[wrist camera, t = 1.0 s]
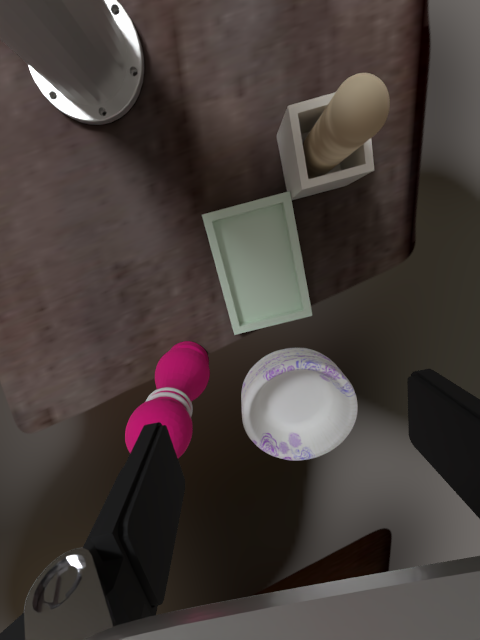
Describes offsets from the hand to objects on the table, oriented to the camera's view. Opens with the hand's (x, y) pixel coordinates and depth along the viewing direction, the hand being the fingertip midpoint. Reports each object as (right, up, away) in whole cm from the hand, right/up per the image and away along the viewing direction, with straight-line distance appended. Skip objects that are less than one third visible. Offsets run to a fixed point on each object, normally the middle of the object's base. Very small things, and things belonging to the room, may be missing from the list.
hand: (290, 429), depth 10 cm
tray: (+1, +12, +26) cm, 29 cm away
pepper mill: (-10, -2, +30) cm, 31 cm away
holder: (+7, +24, +23) cm, 34 cm away
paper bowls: (+6, -6, +31) cm, 33 cm away
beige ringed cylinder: (+7, +24, +22) cm, 33 cm away
